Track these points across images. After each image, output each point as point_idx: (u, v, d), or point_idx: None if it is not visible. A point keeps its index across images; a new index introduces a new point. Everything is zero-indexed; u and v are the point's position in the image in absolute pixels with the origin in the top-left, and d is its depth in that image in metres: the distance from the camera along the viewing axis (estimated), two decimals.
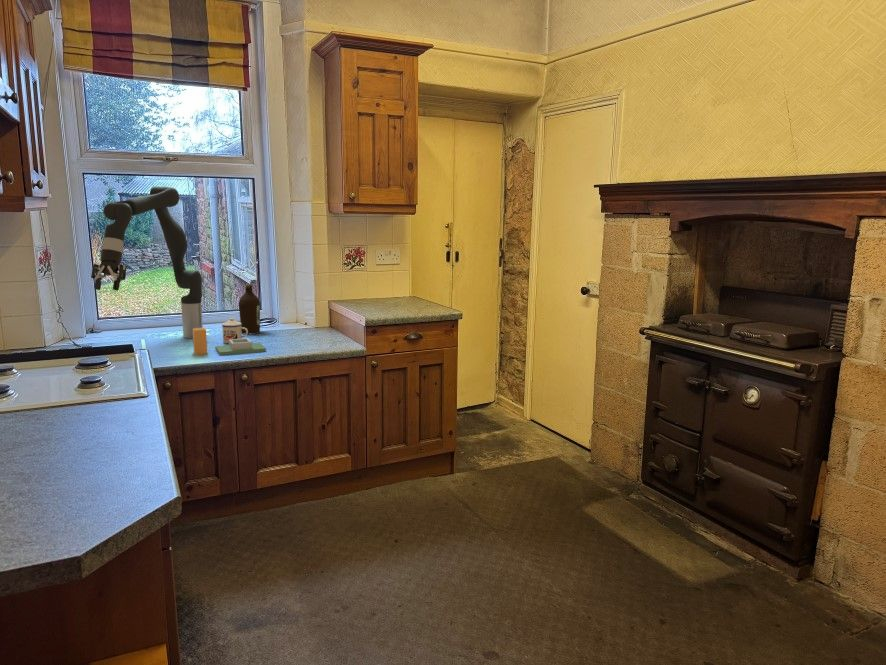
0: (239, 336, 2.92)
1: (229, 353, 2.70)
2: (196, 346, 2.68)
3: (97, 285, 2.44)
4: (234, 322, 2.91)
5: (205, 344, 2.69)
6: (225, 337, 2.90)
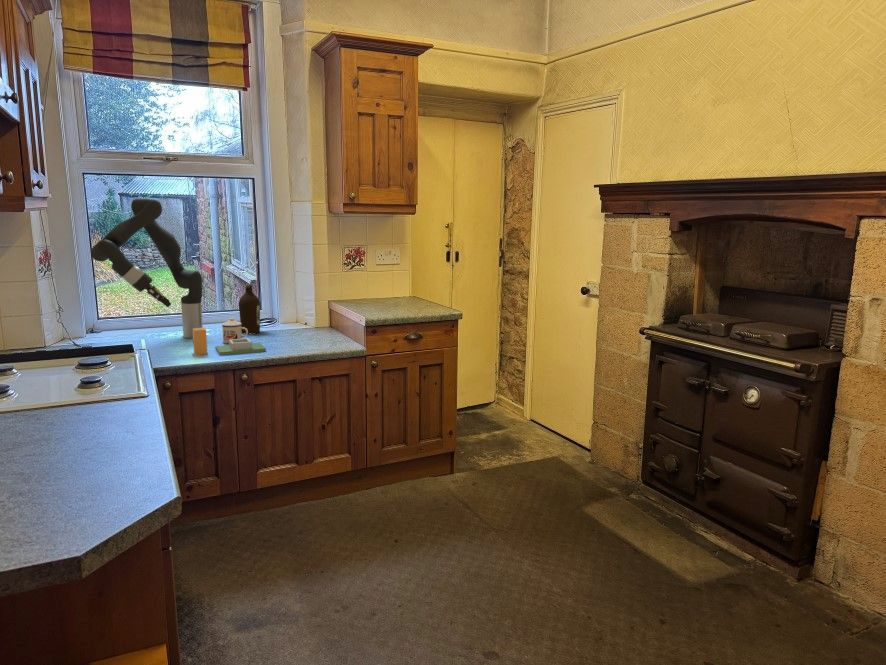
0: (239, 336, 2.92)
1: (229, 353, 2.70)
2: (196, 346, 2.68)
3: None
4: (234, 322, 2.91)
5: (205, 344, 2.69)
6: (225, 337, 2.90)
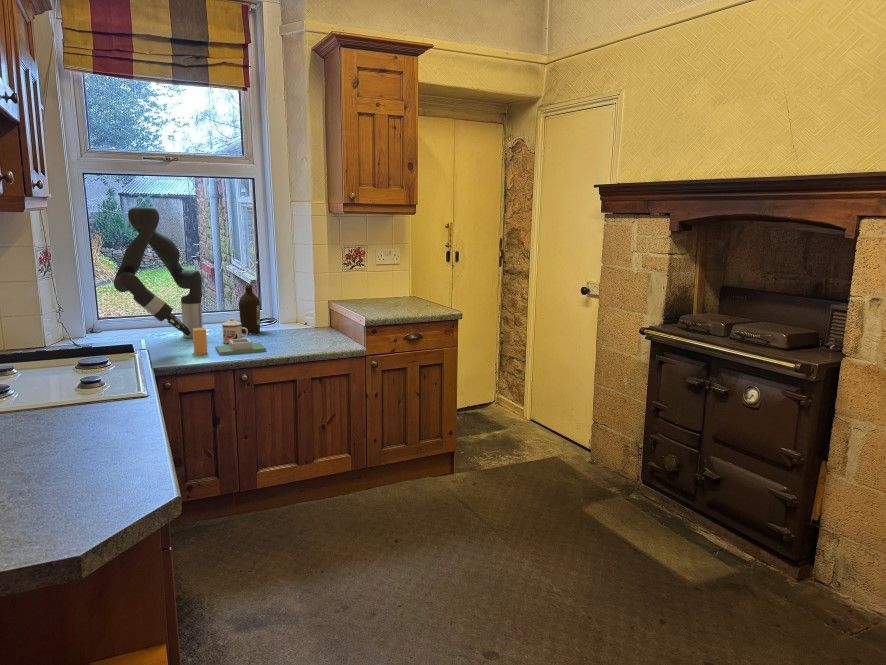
0: (239, 336, 2.92)
1: (229, 353, 2.70)
2: (196, 346, 2.68)
3: None
4: (234, 322, 2.91)
5: (205, 344, 2.69)
6: (225, 337, 2.90)
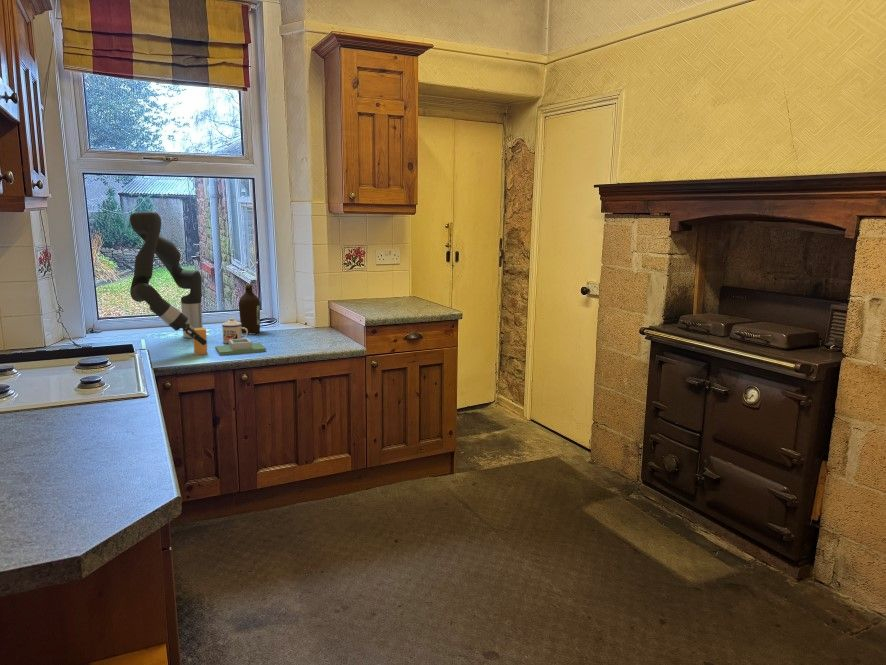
0: (239, 336, 2.92)
1: (229, 353, 2.70)
2: (196, 346, 2.68)
3: None
4: (234, 322, 2.91)
5: (205, 344, 2.69)
6: (225, 337, 2.90)
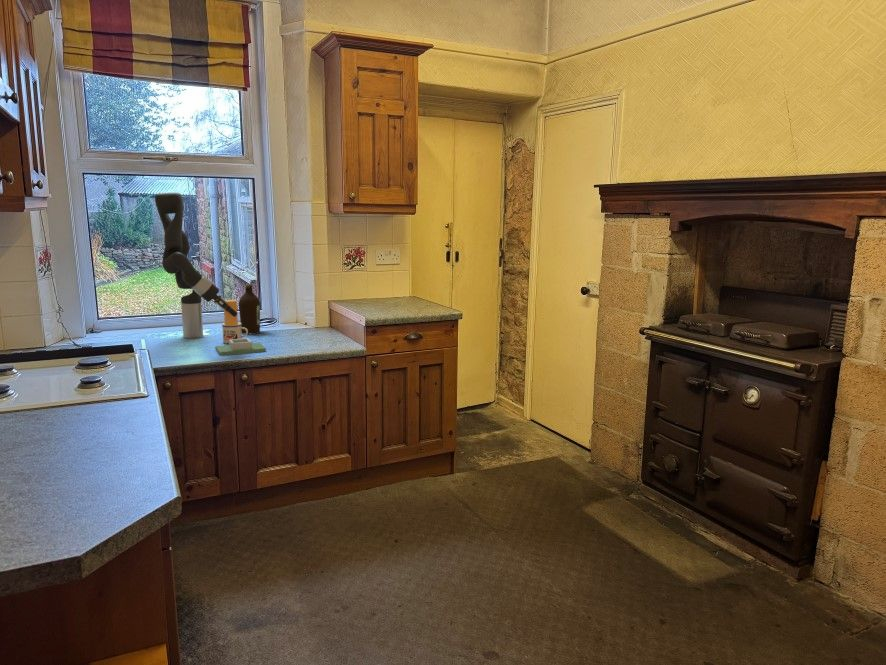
0: (239, 336, 2.92)
1: (229, 353, 2.70)
2: (227, 317, 2.70)
3: None
4: None
5: (235, 316, 2.72)
6: (225, 337, 2.90)
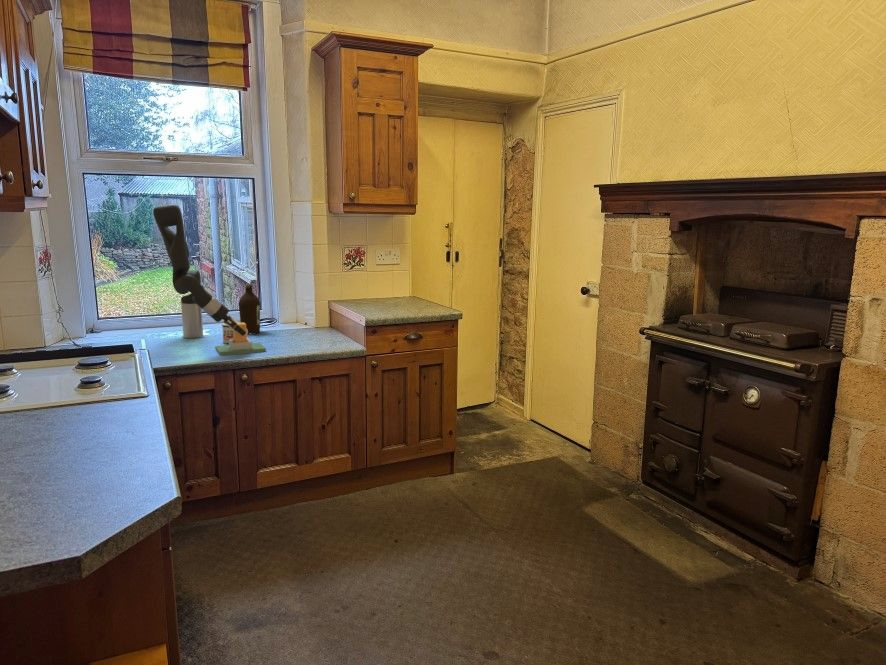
0: None
1: (229, 353, 2.70)
2: (236, 340, 2.74)
3: None
4: None
5: (245, 338, 2.75)
6: (225, 337, 2.90)
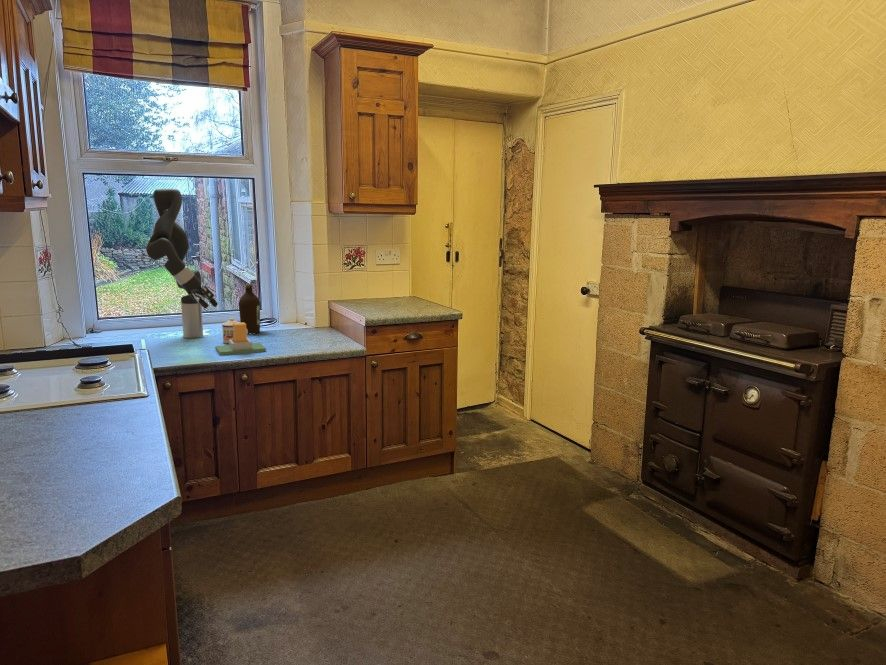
0: None
1: (229, 353, 2.70)
2: (236, 340, 2.74)
3: (203, 305, 2.72)
4: (234, 322, 2.91)
5: (245, 338, 2.75)
6: (225, 337, 2.90)
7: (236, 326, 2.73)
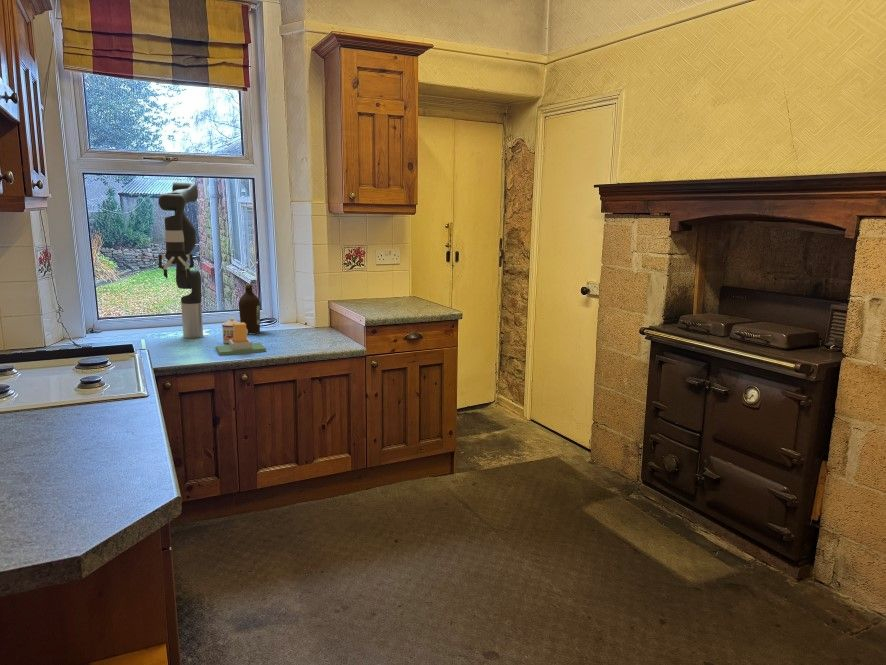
0: None
1: (229, 353, 2.70)
2: (236, 340, 2.74)
3: None
4: (234, 322, 2.91)
5: (245, 338, 2.75)
6: (225, 337, 2.90)
7: (236, 326, 2.73)
